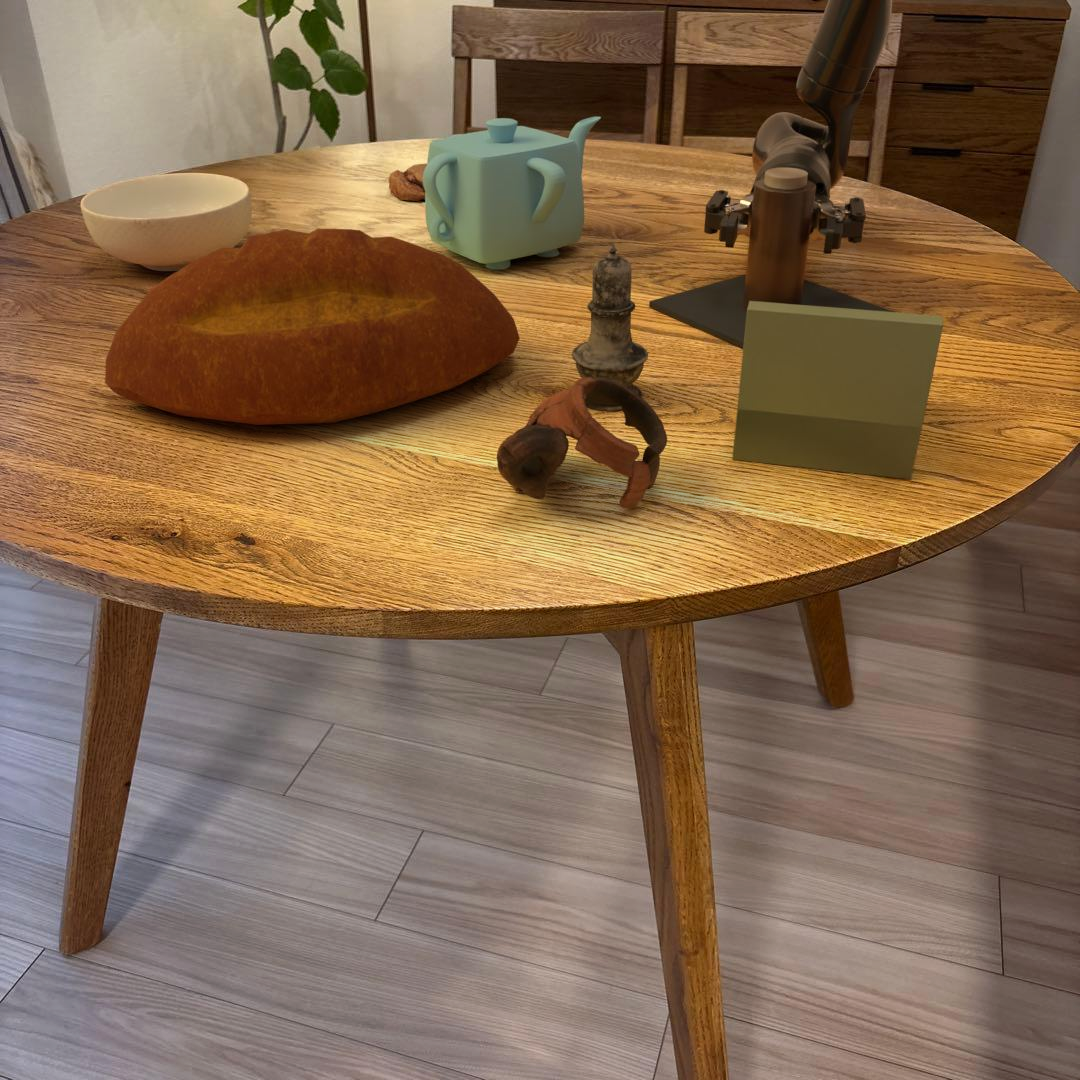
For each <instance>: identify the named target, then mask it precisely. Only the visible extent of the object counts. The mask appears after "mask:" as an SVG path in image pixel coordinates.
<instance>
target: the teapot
mask: <svg viewBox="0 0 1080 1080" xmlns="http://www.w3.org/2000/svg"><path fill="white" fill-rule="evenodd" d="M601 118H602V117H601V116H591V117H587V118H583V119H581V120H579V121H578V122H577V123H575V125H574V126H573V128H572V129H571V130H570V133H569V135H568V138H567V137H564V136H561V135H558V134H555V133H551V132H547V131H544V130H541V129H536V128H533V127H529V126H524V125H518V124H519V123H518V122H519V121H517V120H515V119H513V118H510V117H509V118H507V117H500V118H499V117H498V118H497V117H496V118H492V119H489V120H487V121H486V122H485V124H486V125H485V126H486V130H479V131H473V132H468V133H458V134H457V133H456V134H452V135H450V136H446V137H441V138H437V139H433V140H431V141H430V142H429V145H428V153H427V161H426V164H427V166H426V168H425V170H424V173H423V185H424V189H425V199H424V201H425V202H424V207H425V210H424V211H425V222H426V227H427V230H428V234H429V237H430V239H431V241H432V242H433V243H434V244H435V243H436V244H437V245H439V246H441V247H442V248H444V249H447V250H449V251H451V252H453V253H454V254H457V255H460V256H462V257H464V258H466V259H469V260H471V261H475V262H477V263H479V264H484V265H485V268H487V269H489V270H498V271H499V270H505V269H508V268H510V267H511V264H512V263H511V260H514V259H520V258H524V257H529V256H533V255H536V256H537V257H540V258H554V257H557V256H559V255H560V251H559V248H564V247H566V246H570V245H573V244H575V243H578V242H579V241H580V240H581V237H582V234H583V229H584V225H585V199H584V187H583V179H582V175H583V174H582V173H583V164H584V151H585V144H586V141H587V137H588V135H589V133H590V131H591V129H592V128H593V127H594V126H595V125H596V124H597V123H598V122H599V121H600V120H601Z"/></svg>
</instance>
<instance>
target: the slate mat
mask: <svg viewBox="0 0 1080 1080" xmlns="http://www.w3.org/2000/svg"><path fill="white" fill-rule="evenodd" d="M745 278H746V273H745V274H742V275H738V276H735V277H732V278H731V277H730V278H728V279H724V280H720V281H717V282H713V283H710V284H706V285H702V286H699V287H695V288H691V289H688V290H685V291H680V292H677V293H674V294H671V295H667V296H662V297H660V298H656V299H652V300H649V301H648V302H649V304H648V307H649V308H651V309H653V310H655V311H657V312H658V313H659V312H660V313H662V314H664V315H666V316H669V317H670V318H673V319H675V320H677V321H679V322H682V323H685V324H686V325H688V326H691V327H692V328H693V327H694V328H695V329H698V330H700V331H702V332H704V333H706V334H709V335H711V336H713V337H715V338H718V339H720V340H723V341H725V342H727V343H729V344H732V345H734V346H736V347H738V348H740V349H743V346H744V336H745V326H746V316H747V310H746V309H745V308H744V307H743V298H744V288H745ZM801 305H808V306H821V307H834V308H846V309H859V310H872V311H885V312H895V311H894V310H891V309H888V308H885V307H883V306H881V305H877V304H874V303H871V302H868V301H866V300H863V299H860V298H858V297H855V296H852V295H849V294H847V293H844V292H841V291H838V290H835V289H833V288H830V287H827V286H824V285H822V284H819V283H816V282H813V281H810V280H808V279H805V278H804V283H803V291H802V299H801Z"/></svg>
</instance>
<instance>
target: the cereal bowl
mask: <svg viewBox="0 0 1080 1080" xmlns="http://www.w3.org/2000/svg"><path fill="white" fill-rule="evenodd" d="M252 203H253V202H252V196H251V190H250V188H249V186H248V185H247V184H246V183H245V182H244V181H242V180H240V179H238V178H236V177H232V176H228V175H222V174H216V173H206V172H205V173H204V172H178V173H177V172H176V173H175V172H174V173H162V174H154V175H147V176H141V177H140V176H139V177H135V178H130V179H125V180H122V181H121V180H120V181H117V182H113V183H111V184H107V185H104V186H102V187H99V188H97V189H94V190H92V191H91V192H88V193H87V194H86V195H84V196H83V197H82V199H81V200H80V212H81V214H82V219H83V221H84V223H85V227H86V229H87V231H88V233H89V235H90V237H91V238H92V240H93V241H94V242H95V244H96V245H97V246H98V247H99V248H100V249H102V250H103V251H104V252H105V253H107V254H108V255H110V256H112V257H113V258H116V259H117V260H122V261H123V262H126V263H130V264H135V265H140V266H142V267H144V268H145V269H148V270H152V271H157V272H177V271H179V270H180V269H182V268H183V267H185V266H187V265H188V264H190V263H191V262H193V261H195V260H197V259H199V258H201V257H203V256H206V255H208V254H210V253H212V252H214V251H217V250H219V249H221V248H235V247H236V246H237V245H238V244H239V243H240V242H241V241H242V240H243V239H244V237H245V236H246V234H247V232H248V230H249V228H250V225H251V222H252V215H253V214H252V213H253V207H252V206H253V204H252Z"/></svg>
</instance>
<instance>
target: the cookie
mask: <svg viewBox="0 0 1080 1080" xmlns="http://www.w3.org/2000/svg"><path fill="white" fill-rule="evenodd" d="M426 166H427V163H417V164H413V165H412V166H410V167H409V168H407V169H406V170H404V171H402V170H399V169H397V170H394V171H392V172H391V173H390V174H389V176H388V189H389V191H390V194H392V195H393V196H394V197H395V198H399V200H402V201H404V200H405V201H412V202H419V201H421V200H425V189H424V185H423V173H424V170H425V168H426Z"/></svg>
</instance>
